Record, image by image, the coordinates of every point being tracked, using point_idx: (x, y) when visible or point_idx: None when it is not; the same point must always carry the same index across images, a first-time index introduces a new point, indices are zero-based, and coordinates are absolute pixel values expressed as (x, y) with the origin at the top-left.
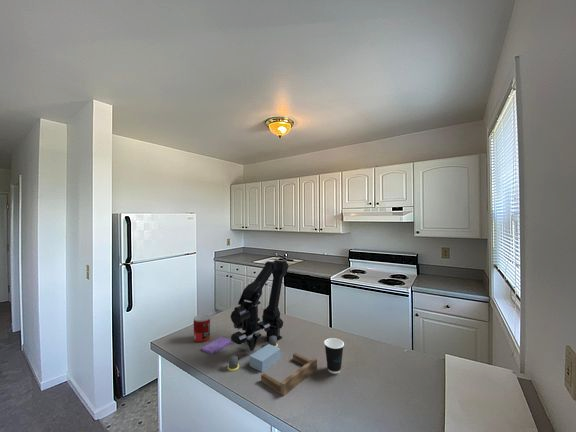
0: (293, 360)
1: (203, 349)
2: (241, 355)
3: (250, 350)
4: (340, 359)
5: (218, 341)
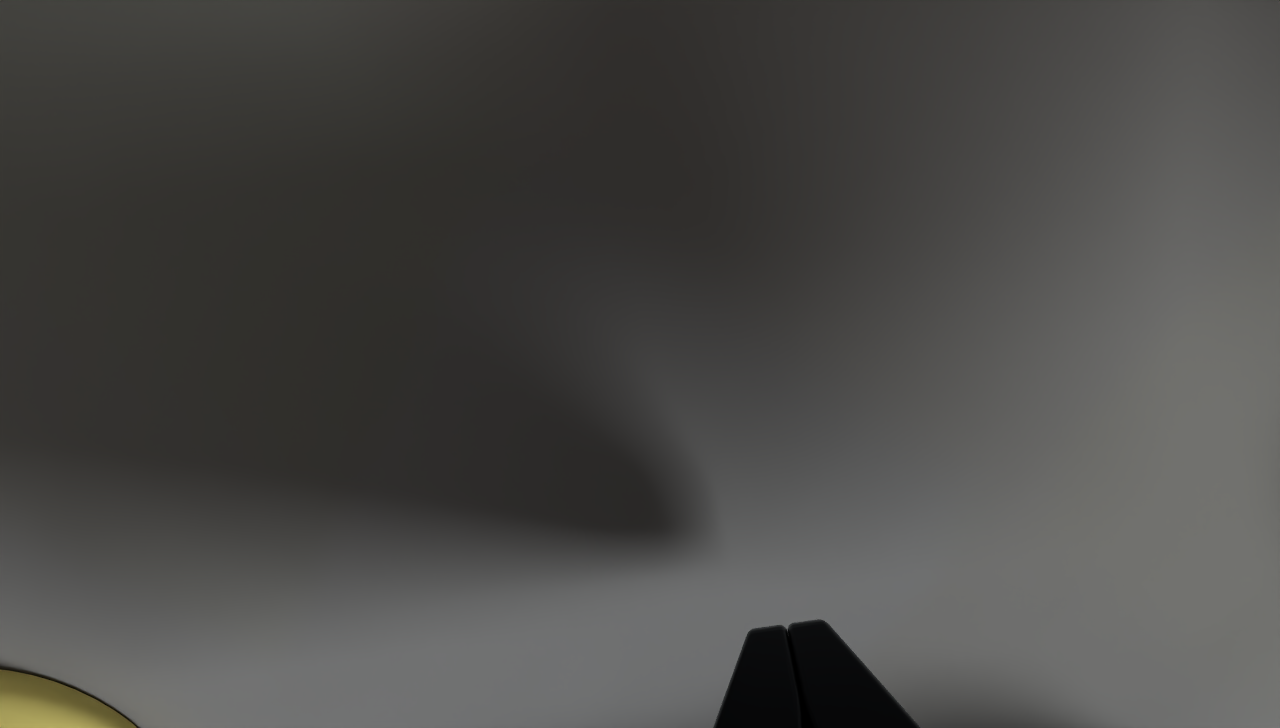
0: None
1: None
2: (443, 417)
3: (745, 666)
4: None
5: None
